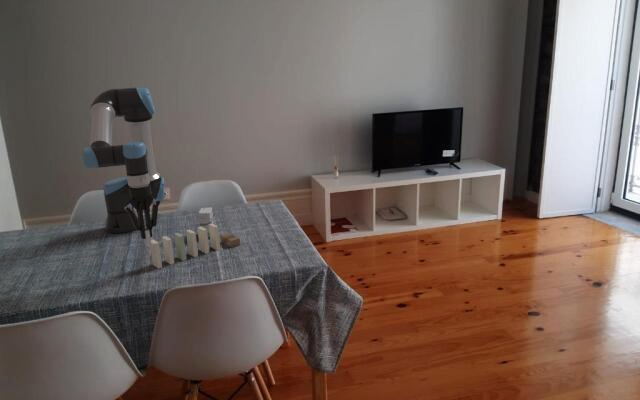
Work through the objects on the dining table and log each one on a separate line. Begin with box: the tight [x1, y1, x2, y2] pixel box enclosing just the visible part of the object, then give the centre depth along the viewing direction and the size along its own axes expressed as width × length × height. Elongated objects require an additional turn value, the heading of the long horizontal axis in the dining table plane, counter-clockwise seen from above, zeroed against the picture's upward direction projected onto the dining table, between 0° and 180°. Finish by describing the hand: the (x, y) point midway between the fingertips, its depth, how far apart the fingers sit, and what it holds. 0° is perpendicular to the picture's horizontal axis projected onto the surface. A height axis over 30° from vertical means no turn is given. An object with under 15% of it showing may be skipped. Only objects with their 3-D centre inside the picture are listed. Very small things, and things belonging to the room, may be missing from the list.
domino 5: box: [197, 226, 210, 255], centre depth 203 cm, size 2×5×10 cm, turn 40°
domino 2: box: [161, 235, 175, 265], centre depth 194 cm, size 2×5×10 cm, turn 40°
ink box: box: [198, 207, 215, 239], centre depth 220 cm, size 9×5×12 cm, turn 5°
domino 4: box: [185, 229, 199, 258], centre depth 200 cm, size 2×5×10 cm, turn 40°
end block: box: [219, 232, 241, 249], centre depth 211 cm, size 9×4×3 cm, turn 40°
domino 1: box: [149, 238, 163, 269], centre depth 191 cm, size 2×5×10 cm, turn 40°
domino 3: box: [173, 232, 187, 261], centre depth 197 cm, size 2×5×10 cm, turn 40°
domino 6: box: [209, 224, 221, 251], centre depth 206 cm, size 2×5×10 cm, turn 40°
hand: (148, 245), depth 188 cm, fingers closed
